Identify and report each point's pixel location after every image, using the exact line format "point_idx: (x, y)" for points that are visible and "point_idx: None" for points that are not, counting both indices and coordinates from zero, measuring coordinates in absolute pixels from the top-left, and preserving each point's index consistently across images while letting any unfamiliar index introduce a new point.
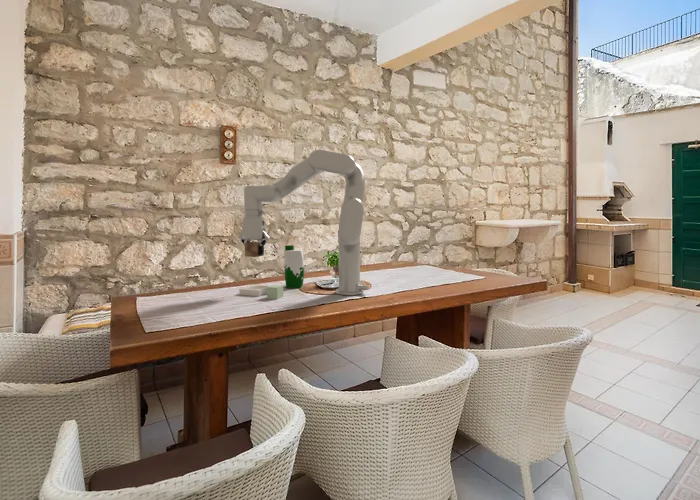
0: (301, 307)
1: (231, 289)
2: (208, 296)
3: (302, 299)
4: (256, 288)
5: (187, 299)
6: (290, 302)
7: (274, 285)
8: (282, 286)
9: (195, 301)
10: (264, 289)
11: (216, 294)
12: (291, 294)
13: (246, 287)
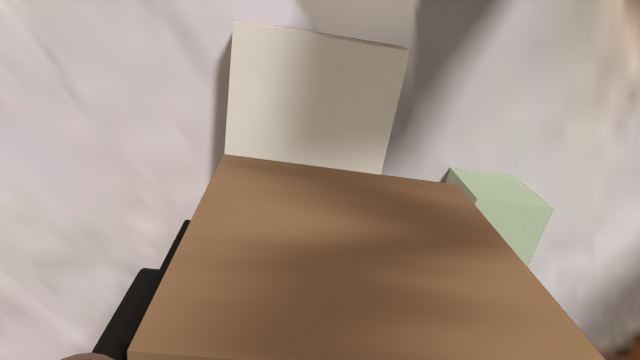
0: (621, 341)
1: (61, 14)
2: (75, 240)
3: (629, 217)
4: (332, 149)
5: (22, 312)
6: (568, 280)
7: (493, 215)
8: (547, 212)
9: (97, 336)
10: (387, 139)
11: (81, 187)
12: (559, 109)
13: (243, 127)
